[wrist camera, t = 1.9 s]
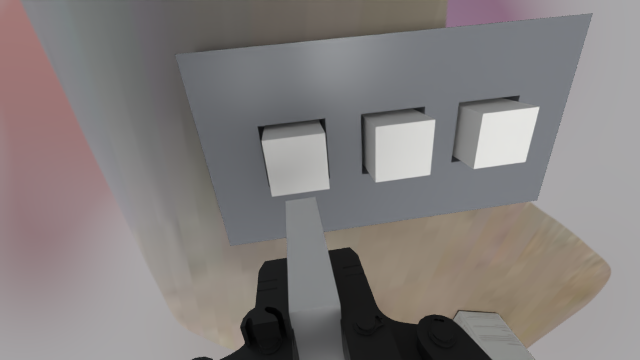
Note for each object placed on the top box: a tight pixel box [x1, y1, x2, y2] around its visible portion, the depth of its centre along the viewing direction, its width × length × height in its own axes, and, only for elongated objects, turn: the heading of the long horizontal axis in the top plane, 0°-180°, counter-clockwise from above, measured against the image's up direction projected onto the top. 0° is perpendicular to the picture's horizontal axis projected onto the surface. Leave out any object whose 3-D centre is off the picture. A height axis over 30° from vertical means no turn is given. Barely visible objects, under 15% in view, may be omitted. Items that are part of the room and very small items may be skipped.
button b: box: [361, 108, 435, 182], centre depth 23 cm, size 4×4×4 cm
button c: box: [452, 98, 539, 169], centre depth 23 cm, size 4×4×4 cm
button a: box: [262, 119, 330, 197], centre depth 22 cm, size 4×4×4 cm
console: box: [175, 13, 592, 246], centre depth 25 cm, size 16×30×5 cm, turn 95°
